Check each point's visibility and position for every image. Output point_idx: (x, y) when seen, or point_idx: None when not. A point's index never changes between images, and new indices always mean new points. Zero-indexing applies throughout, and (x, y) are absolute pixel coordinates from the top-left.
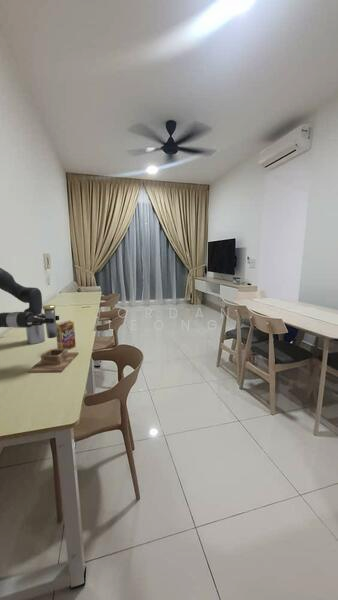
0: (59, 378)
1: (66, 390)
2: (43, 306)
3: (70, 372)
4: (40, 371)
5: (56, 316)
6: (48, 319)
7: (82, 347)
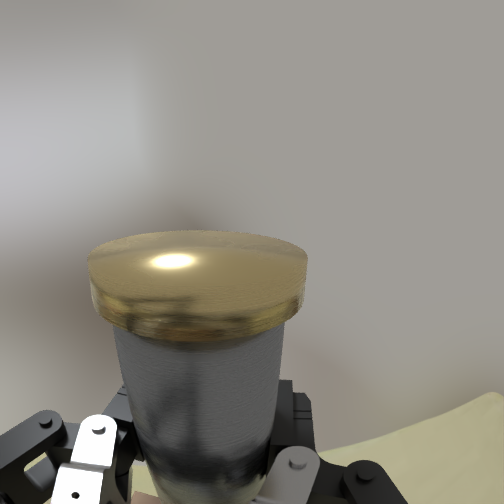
0: None
1: (436, 446)
2: (217, 281)
3: None
4: None
5: None
6: (291, 422)
7: None
